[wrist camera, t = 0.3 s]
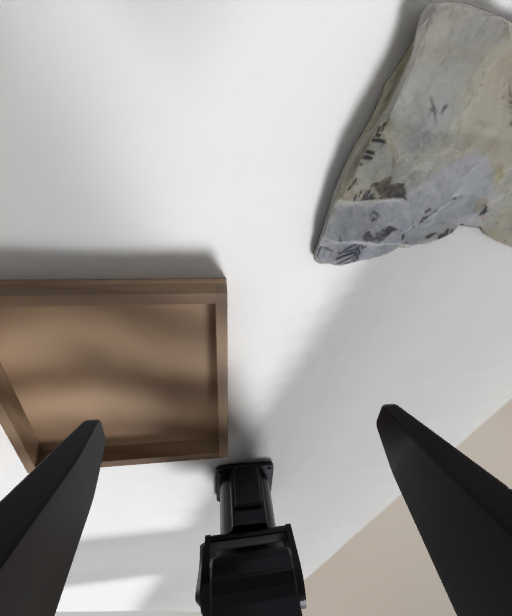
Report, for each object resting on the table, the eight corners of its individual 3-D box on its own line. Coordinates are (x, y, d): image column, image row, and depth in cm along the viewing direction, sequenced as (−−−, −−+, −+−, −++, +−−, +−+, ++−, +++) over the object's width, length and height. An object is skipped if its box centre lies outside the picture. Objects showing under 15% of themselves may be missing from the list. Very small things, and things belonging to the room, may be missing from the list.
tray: (226, 436, 32) (227, 457, 30) (41, 449, 29) (27, 472, 27) (226, 278, 23) (227, 293, 21) (-42, 280, 20) (-71, 296, 18)
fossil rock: (628, 66, 19) (677, 58, 17) (499, 279, 26) (522, 291, 24) (380, -11, 16) (404, -32, 14) (309, 256, 23) (318, 268, 21)
